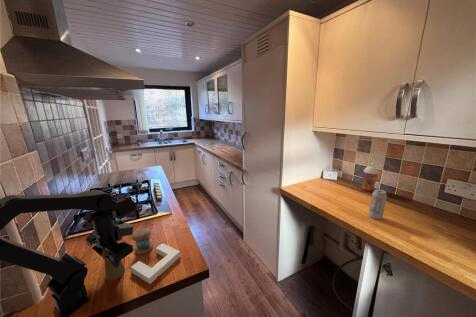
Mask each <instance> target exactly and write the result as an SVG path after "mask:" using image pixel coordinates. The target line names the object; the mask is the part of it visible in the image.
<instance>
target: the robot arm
mask: <svg viewBox="0 0 476 317" xmlns="http://www.w3.org/2000/svg"><path fill="white" fill-rule="evenodd" d="M68 210H81V211H83V210H84V211H86V214H85V215H84V216H83V217H82V221H84V222H86V223H92V226H93V231H91V234H89V235H87V236H86V238H85V239H84V240H85V244H86V245H87V246H88V247H91V249H92V250H93V251H94V252H95V253H96V254H97V255H99V256H100V257H101V258H102V251H103V249H107V250H108V251H109V250H110V251H109V253H108V255H107V256H106V257H105V258H106V259H107V260H108V261H109V262H110V263H111V264H112V265H113V266H114V267H115V268H117V267H118V266H119V263H120V260H121V261H123V259H124V258H126V257H128V256H129V255H131V254H132V253H133V252H134V245H133V244H131V243H129V242H126V241H122V242H119V241H121V240H123V237H127V236H132V234H133V233H134V228H135V226H134V225H133V224H131V223H129V222H124V220H122V219H124V218H126V217H128V216H130V215H132V214H134V213H136V212H137V210H138V206H137V205H136V203H135V201H134V200H133V198H132V196H130V195H126V196H124V197H122V198H120V199H118V200H113V197H112V195H111V194H109V193H107V192H106V191H102V190H98V189H92V190H84V191H82V192H78V193H74V194H73V193H70V194H41V195H40V194H36V195H35V194H34V195H33V194H30V195H26V194H25V195H20V194H19V195H17V194H10V195H5V196H3V197H2V198H0V232H1V231H2V230H3V229H4V228H5V227H6V226H8V225H9V224H10V222H12V221H13V220H14V218H16V217H18V216H19V215H21V214H29V213H30V214H31V213H32V214H33V213H41V212H42V213H43V212H54V211H55V212H57V211H68ZM115 219H116V221H115ZM0 262H4V263H7V264H11V265H14V266H18V267H20V268H21V267H22V268H23V269H28V270H30V271H34V272H37V273H41V274H44V275H47V276H50V277H51V279H50V280H49V281H48V283H47V285H46V286H47V288H48V289H49V290H50V291H51V293H52V294H51V298H52V301H53V304H54V308H53V309H54V311H55V312H56V313H57V314H58V316H60V317H70V316H71V315H72V314H74V313H75V312H77V311H78V310H79V309H80V308H81V307H83V306H84V305H85V304H87V303H88V302H89V300H90V299H89V297H88V291H87V288H86V285H85V280H86V277H87V276H88V270H89V269H88V267H86V265H87V264H86V263H85V262H84V261H83V260H81V259H80V258H79V257H78V256H74V255H70V254H69V253H67V252H64V254H63V255H62V256H59V257H57V256H53V255H52V254H51V255H50V254H48V253H46V252H42V251H39V250H37V249H34V248H33V247H30V246H27V245H25V244H21V243H19V242H16V241H13V240H11V239H8V238H6V237H3V236H2V235H0Z"/></svg>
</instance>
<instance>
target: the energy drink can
mask: <svg viewBox="0 0 476 317" xmlns="http://www.w3.org/2000/svg"><path fill="white" fill-rule="evenodd" d="M387 198H388V195H387V191H386V190H383V189H380V188H379V189H378V188H376V189H375V188H374V190H373V191H372V195H371V200H370V205H369V210H368V216H369V218H371V219H373V220H375V221H376V220H377V221H379V220H381V219H383V218H384V212H385V207H386V203H387Z"/></svg>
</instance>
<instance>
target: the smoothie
mask: <svg viewBox="0 0 476 317" xmlns="http://www.w3.org/2000/svg"><path fill="white" fill-rule="evenodd" d="M373 164H374V162H373V161H372V162H371V165H369V166H365V168H364V169H363V171H362V172H363V174H362V181H361V188H362V190H363V191H365V192H367V193H368V192H373V191H374V190H375V185H376V181H377V178H378V175H379V171H378V169H377V168H376V167H375V166H373Z"/></svg>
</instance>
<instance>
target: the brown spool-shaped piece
mask: <svg viewBox="0 0 476 317" xmlns="http://www.w3.org/2000/svg"><path fill="white" fill-rule="evenodd" d="M151 234H152V231H151V229H150V228H147V227H143V228H139V229H137V230H135V231H133V234H132V235H131V239H132V241H134V242H135V246H134V248H133V251H134V253H135V254H136V255H140V256H142V255H145V254H147V253H149V252H151V251H152V249H153V248H154V244H153V242H152V241H151V240H150V236H151Z"/></svg>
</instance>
